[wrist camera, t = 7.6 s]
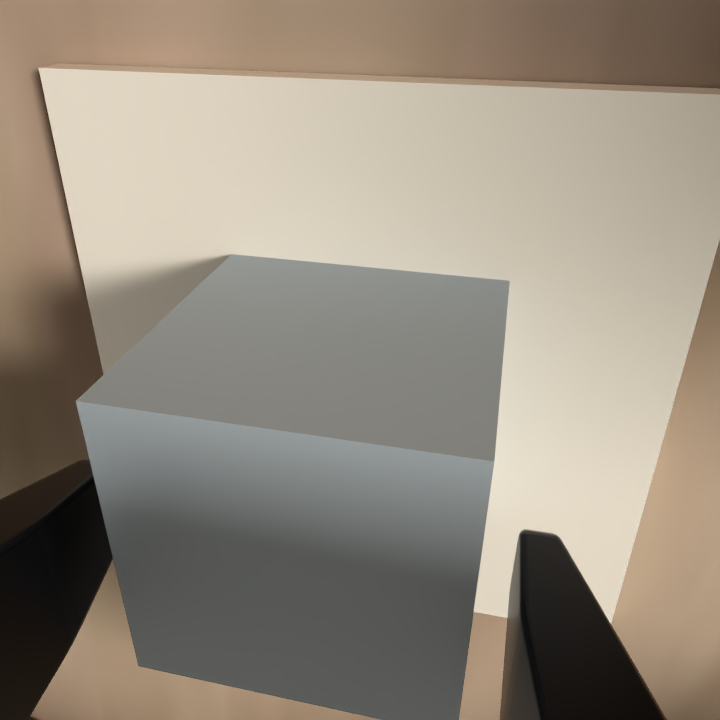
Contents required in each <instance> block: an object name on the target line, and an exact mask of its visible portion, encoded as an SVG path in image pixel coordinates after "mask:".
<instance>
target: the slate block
mask: <svg viewBox="0 0 720 720" xmlns="http://www.w3.org/2000/svg"><path fill="white" fill-rule="evenodd" d="M509 283H510V281H507V280H497V279H486V278H476V277H465V276H455V275H444V274H434V273H424V272H413V271H403V270H392V269H382V268H371V267H361V266H351V265H340V264H330V263H319V262H309V261H298V260H288V259H277V258H267V257H257V256H246V255H236V254H231V255H230V256H229V257H228V258H227V259H226V260H225V261H224V262H223V263H222V264H221V265H220V266H219V267H218V268H216V269H215V270H214V271H213V272H212V273H211V274H210V275H209V276H208V277H207V278H206V279H205V280H204V281H203V282H202V283H201V284H199V285H198V286H197V287H196V288H195V289H194V290H193V291H192V292H191V293H190V294H189V295H188V296H187V297H186V298H185V299H184V300H182V301H181V302H180V303H179V304H178V305H177V306H176V307H175V308H174V309H173V310H172V311H171V312H170V313H169V314H168V315H167V316H166V317H164V318H163V319H162V320H161V321H160V322H159V323H158V324H157V325H156V326H155V327H154V328H153V329H152V330H151V331H150V332H149V333H147V334H146V335H145V336H144V337H143V338H142V339H141V340H140V341H139V342H138V343H137V344H136V345H135V346H134V347H133V348H132V349H131V350H129V351H128V352H127V353H126V354H125V355H124V356H123V357H122V358H121V359H120V360H119V361H118V362H117V363H116V364H115V365H114V366H112V367H111V368H110V369H109V370H108V371H107V372H106V373H105V374H104V375H103V376H102V377H101V378H100V379H99V380H98V381H97V382H95V383H94V384H93V385H92V386H91V387H90V388H89V389H88V390H87V391H86V392H85V393H84V394H83V395H82V396H81V397H80V398H79V399H77V400H76V404H77V409H78V413H79V417H80V421H81V426H82V430H83V434H84V438H85V442H86V447H87V451H88V455H89V459H90V464H91V468H92V472H93V476H94V480H95V485H96V489H97V493H98V497H99V502H100V506H101V510H102V514H103V518H104V523H105V527H106V531H107V535H108V539H109V544H110V548H111V552H112V556H113V561H114V565H115V569H116V573H117V577H118V582H119V586H120V590H121V594H122V599H123V603H124V607H125V611H126V615H127V620H128V624H129V628H130V632H131V636H132V641H133V645H134V649H135V653H136V658H137V662H138V666H140V667H145V668H149V669H154V670H159V671H163V672H168V673H172V674H177V675H181V676H186V677H190V678H195V679H200V680H204V681H209V682H213V683H218V684H222V685H227V686H231V687H236V688H241V689H245V690H250V691H254V692H259V693H263V694H268V695H272V696H277V697H281V698H286V699H291V700H295V701H300V702H304V703H309V704H313V705H318V706H322V707H327V708H332V709H336V710H341V711H345V712H350V713H354V714H359V715H363V716H368V717H373V718H377V719H382V720H459V713H460V706H461V699H462V692H463V684H464V677H465V670H466V663H467V655H468V648H469V641H470V634H471V627H472V619H473V612H474V605H475V598H476V591H477V583H478V576H479V569H480V562H481V554H482V547H483V540H484V533H485V526H486V518H487V511H488V504H489V497H490V490H491V482H492V475H493V468H494V460H495V448H496V437H497V425H498V413H499V401H500V389H501V378H502V366H503V354H504V342H505V331H506V319H507V307H508V295H509Z"/></svg>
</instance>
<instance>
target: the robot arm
mask: <svg viewBox="0 0 720 720" xmlns="http://www.w3.org/2000/svg"><path fill="white" fill-rule="evenodd" d="M112 560H113V556H112V552H111V548H110V544H109V539H108V535H107V531H106V527H105V523H104V518H103V514H102V510H101V506H100V502H99V497H98V493H97V489H96V485H95V480H94V476H93V472H92V468H91V464H90V460H82V461H79V462H76V463H74V464H72V465H70V466H68V467H66V468H64V469H62V470H60V471H58V472H56V473H54V474H51V475H49V476H47V477H45V478H43V479H41V480H39V481H37V482H35V483H33V484H31V485H29V486H27V487H25V488H23V489H20V490H18V491H16V492H14V493H12V494H10V495H8V496H6V497H4V498H2V499H0V720H28V719H29V717H30V715H31V714H32V712H33V710H34V709H35V707H36V705H37V704H38V702H39V700H40V698H41V697H42V695H43V693H44V692H45V690H46V688H47V687H48V685H49V683H50V682H51V680H52V678H53V677H54V675H55V673H56V672H57V670H58V668H59V667H60V665H61V663H62V661H63V660H64V658H65V656H66V654H67V653H68V651H69V649H70V647H71V646H72V644H73V642H74V640H75V638H76V636H77V634H78V632H79V630H80V628H81V626H82V624H83V622H84V620H85V617H86V615H87V613H88V611H89V609H90V607H91V605H92V602H93V600H94V598H95V596H96V594H97V592H98V590H99V587H100V585H101V583H102V581H103V579H104V577H105V575H106V572H107V570H108V568H109V566H110V564H111V562H112ZM500 720H667V719H666V717H665V716H664V714H663V712H662V710H661V709H660V707H659V705H658V704H657V702H656V700H655V699H654V697H653V695H652V693H651V692H650V690H649V688H648V687H647V685H646V683H645V681H644V680H643V678H642V676H641V675H640V673H639V671H638V670H637V668H636V666H635V664H634V663H633V661H632V659H631V658H630V656H629V654H628V652H627V651H626V649H625V647H624V646H623V644H622V642H621V641H620V639H619V637H618V635H617V634H616V632H615V630H614V629H613V627H612V625H611V623H610V622H609V620H608V618H607V617H606V615H605V613H604V612H603V610H602V608H601V606H600V605H599V603H598V601H597V600H596V598H595V596H594V594H593V593H592V591H591V589H590V588H589V586H588V584H587V583H586V581H585V579H584V577H583V576H582V574H581V572H580V571H579V569H578V567H577V565H576V564H575V562H574V560H573V559H572V557H571V555H570V554H569V552H568V550H567V548H566V547H565V545H564V543H563V542H562V540H561V538H560V537H559V536H557V535H556V534H553V533H547V532H541V531H535V530H529V529H524V530H522V531H521V532H520V533H519V537H518V542H517V548H516V554H515V560H514V566H513V572H512V578H511V585H510V593H509V604H508V617H507V631H506V644H505V657H504V671H503V684H502V698H501V711H500Z"/></svg>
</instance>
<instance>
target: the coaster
mask: <svg viewBox="0 0 720 720" xmlns="http://www.w3.org/2000/svg"><path fill="white" fill-rule="evenodd" d="M39 73H40V77H41V82H42V87H43V91H44V96H45V101H46V106H47V110H48V115H49V120H50V125H51V129H52V134H53V139H54V143H55V148H56V153H57V158H58V162H59V167H60V172H61V176H62V181H63V186H64V191H65V195H66V200H67V205H68V210H69V214H70V219H71V224H72V228H73V233H74V238H75V243H76V247H77V252H78V257H79V262H80V266H81V271H82V276H83V280H84V285H85V290H86V295H87V299H88V304H89V309H90V314H91V318H92V323H93V328H94V332H95V337H96V342H97V347H98V351H99V356H100V361H101V365H102V370H103V375H104V374H105V373H106V372H107V371H108V370H109V369H110V368H111V367H112V366H114V365H115V364H116V363H117V362H118V361H119V360H120V359H121V358H122V357H123V356H124V355H125V354H126V353H127V352H128V351H129V350H131V349H132V348H133V347H134V346H135V345H136V344H137V343H138V342H139V341H140V340H141V339H142V338H143V337H144V336H145V335H146V334H147V333H149V332H150V331H151V330H152V329H153V328H154V327H155V326H156V325H157V324H158V323H159V322H160V321H161V320H162V319H163V318H164V317H166V316H167V315H168V314H169V313H170V312H171V311H172V310H173V309H174V308H175V307H176V306H177V305H178V304H179V303H180V302H181V301H182V300H184V299H185V298H186V297H187V296H188V295H189V294H190V293H191V292H192V291H193V290H194V289H195V288H196V287H197V286H198V285H199V284H201V283H202V282H203V281H204V280H205V279H206V278H207V277H208V276H209V275H210V274H211V273H212V272H213V271H214V270H215V269H216V268H218V267H219V266H220V265H221V264H222V263H223V262H224V261H225V260H226V259H227V258H228V257H229V256H230V255H231V254H236V255H246V256H257V257H267V258H277V259H288V260H298V261H309V262H319V263H330V264H340V265H351V266H361V267H371V268H382V269H392V270H403V271H413V272H424V273H434V274H444V275H455V276H465V277H476V278H486V279H497V280H507V281H510V283H509V295H508V307H507V319H506V331H505V342H504V354H503V366H502V378H501V389H500V401H499V413H498V425H497V437H496V448H495V460H494V468H493V475H492V482H491V490H490V497H489V504H488V511H487V518H486V526H485V533H484V540H483V547H482V554H481V562H480V569H479V576H478V583H477V591H476V598H475V605H474V612H478V613H483V614H489V615H494V616H500V617H505V618H507V617H508V604H509V593H510V585H511V578H512V572H513V566H514V560H515V554H516V548H517V542H518V537H519V533H520V532H521V531H522V530H524V529H529V530H535V531H541V532H547V533H553V534H556V535H557V536H559V537H560V538H561V540H562V542H563V543H564V545H565V547H566V548H567V550H568V552H569V554H570V555H571V557H572V559H573V560H574V562H575V564H576V565H577V567H578V569H579V571H580V572H581V574H582V576H583V577H584V579H585V581H586V583H587V584H588V586H589V588H590V589H591V591H592V593H593V594H594V596H595V598H596V600H597V601H598V603H599V605H600V606H601V608H602V610H603V612H604V613H605V615H606V617H607V618H608V620H609V622H610V623H611V622H612V619H613V615H614V612H615V608H616V605H617V601H618V598H619V594H620V590H621V587H622V583H623V580H624V576H625V573H626V569H627V566H628V562H629V559H630V555H631V552H632V548H633V544H634V541H635V537H636V534H637V530H638V527H639V523H640V520H641V516H642V513H643V509H644V506H645V502H646V498H647V495H648V491H649V488H650V484H651V481H652V477H653V474H654V470H655V467H656V463H657V459H658V456H659V452H660V449H661V445H662V442H663V438H664V435H665V431H666V428H667V424H668V421H669V417H670V413H671V410H672V406H673V403H674V399H675V396H676V392H677V389H678V385H679V382H680V378H681V375H682V371H683V367H684V364H685V360H686V357H687V353H688V350H689V346H690V343H691V339H692V336H693V332H694V329H695V325H696V321H697V318H698V314H699V311H700V307H701V304H702V300H703V297H704V293H705V290H706V286H707V283H708V279H709V275H710V272H711V268H712V265H713V261H714V258H715V254H716V251H717V247H718V244H719V240H720V88H695V87H669V86H642V85H616V84H589V83H563V82H536V81H510V80H484V79H457V78H431V77H404V76H378V75H351V74H325V73H298V72H272V71H246V70H219V69H193V68H166V67H140V66H113V65H87V64H55V65H50V66H45V67H40V68H39Z"/></svg>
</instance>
